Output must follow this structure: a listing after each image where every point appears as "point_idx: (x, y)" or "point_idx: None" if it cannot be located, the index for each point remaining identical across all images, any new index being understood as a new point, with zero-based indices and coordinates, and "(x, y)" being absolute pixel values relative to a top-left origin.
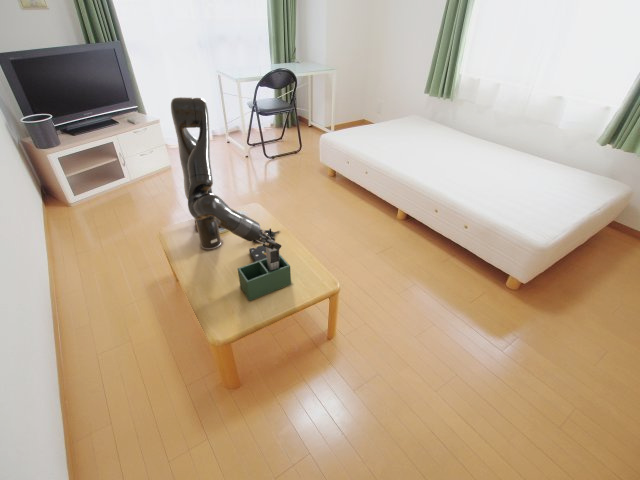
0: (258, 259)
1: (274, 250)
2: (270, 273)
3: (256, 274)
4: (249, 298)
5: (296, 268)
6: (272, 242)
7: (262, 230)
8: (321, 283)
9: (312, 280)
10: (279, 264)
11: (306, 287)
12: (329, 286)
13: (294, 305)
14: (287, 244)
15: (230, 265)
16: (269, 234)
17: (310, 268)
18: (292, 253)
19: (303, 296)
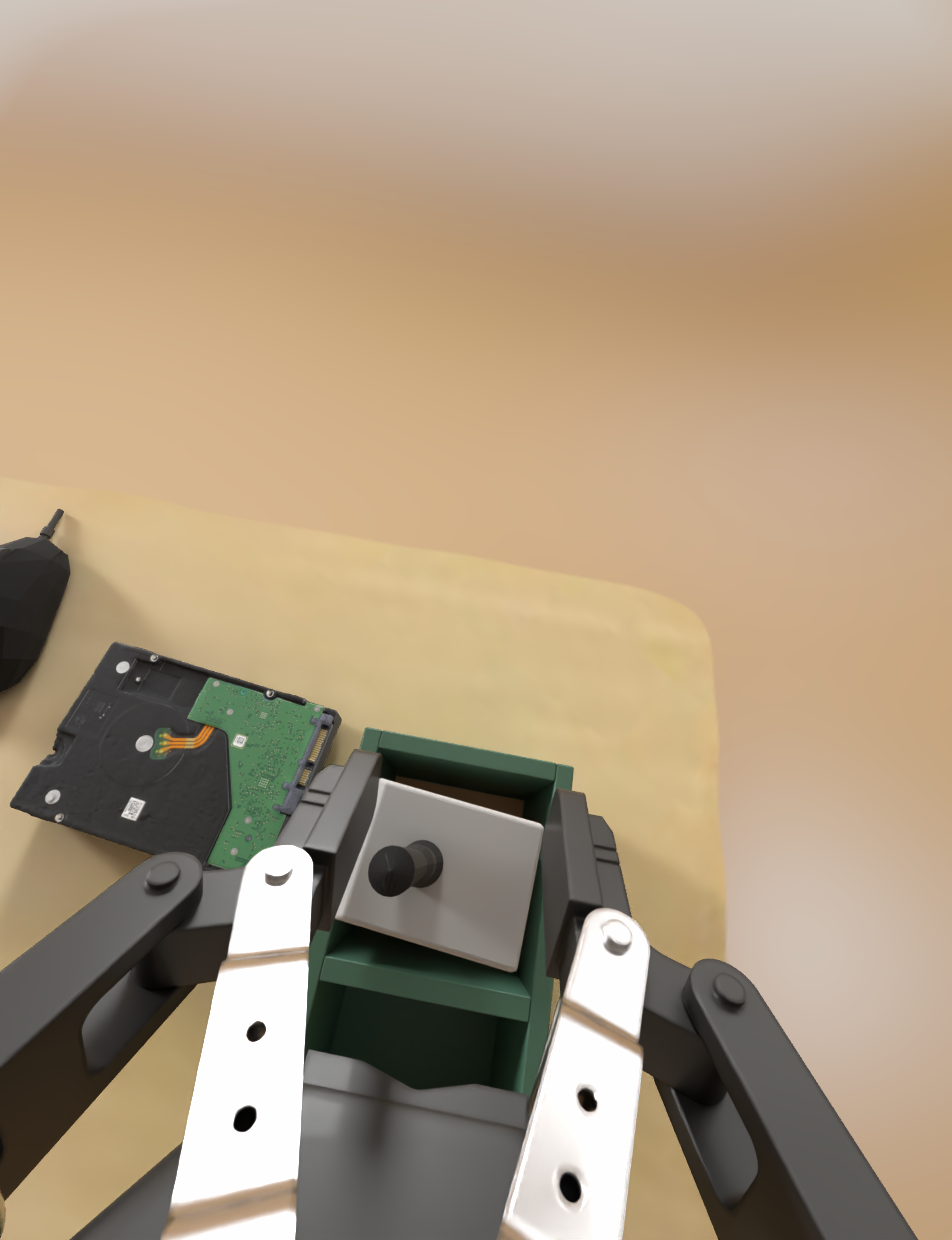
0: (182, 830)
1: (525, 893)
2: (551, 996)
3: (336, 993)
4: None
5: (439, 665)
6: (830, 1149)
7: (294, 1205)
8: (644, 647)
9: (592, 667)
10: (395, 765)
11: (622, 735)
12: (690, 632)
13: (719, 908)
14: (212, 555)
15: None
16: (32, 577)
17: (498, 605)
18: (307, 590)
19: (679, 804)
